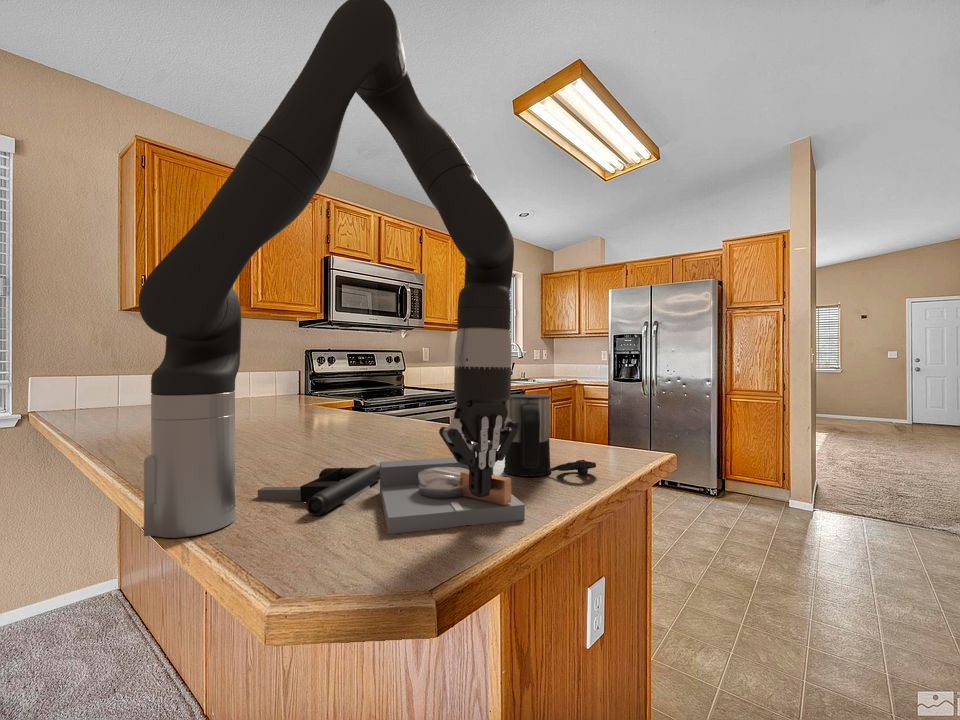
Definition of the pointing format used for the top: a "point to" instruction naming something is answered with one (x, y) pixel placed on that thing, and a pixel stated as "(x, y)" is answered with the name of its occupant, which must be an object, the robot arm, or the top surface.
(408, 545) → the top surface
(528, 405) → the milk frother
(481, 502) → the panel
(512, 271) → the robot arm
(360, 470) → the door handle
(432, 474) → the dial
